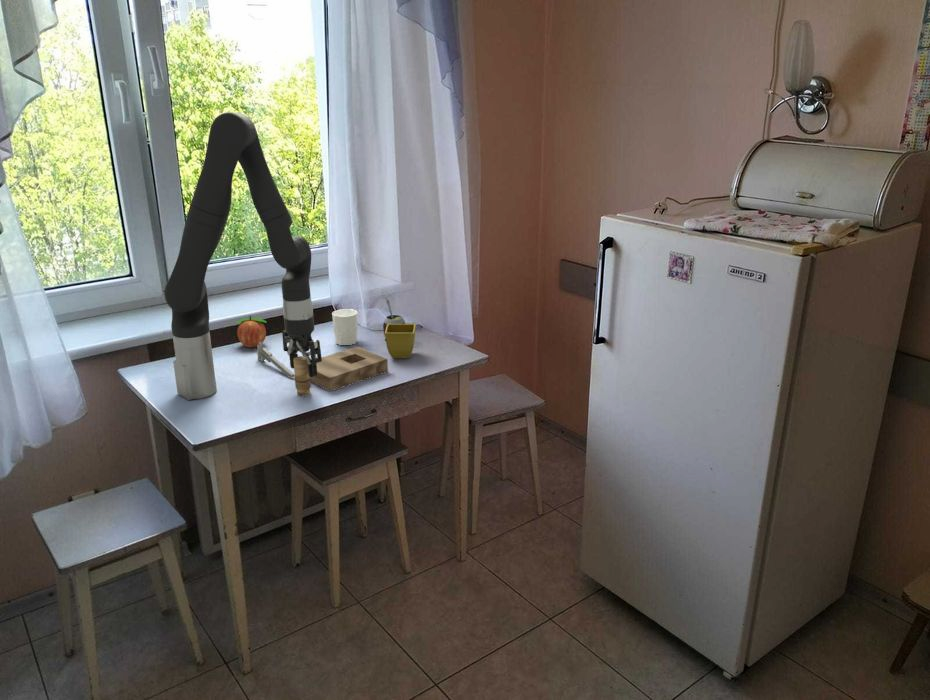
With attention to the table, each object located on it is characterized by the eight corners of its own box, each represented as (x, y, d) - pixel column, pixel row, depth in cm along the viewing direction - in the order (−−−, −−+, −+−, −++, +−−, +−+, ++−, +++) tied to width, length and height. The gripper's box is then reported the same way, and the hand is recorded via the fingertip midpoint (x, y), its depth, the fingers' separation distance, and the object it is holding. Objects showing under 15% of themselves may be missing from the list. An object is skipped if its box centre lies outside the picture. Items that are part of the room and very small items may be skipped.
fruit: (263, 351, 233) (261, 320, 229) (233, 350, 233) (229, 319, 230) (271, 341, 241) (268, 311, 238) (241, 340, 241) (238, 311, 238)
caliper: (257, 360, 226) (255, 341, 224) (261, 360, 227) (259, 340, 224) (293, 381, 212) (292, 360, 210) (297, 379, 213) (295, 359, 211)
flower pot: (388, 350, 234) (387, 323, 231) (416, 350, 234) (415, 323, 231) (385, 361, 226) (384, 332, 223) (414, 361, 226) (414, 333, 223)
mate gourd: (404, 344, 239) (403, 299, 234) (379, 344, 239) (377, 299, 234) (407, 336, 246) (406, 292, 240) (382, 336, 246) (381, 292, 241)
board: (330, 391, 205) (329, 377, 203) (301, 376, 214) (300, 363, 213) (387, 371, 218) (387, 358, 217) (358, 358, 227) (357, 346, 226)
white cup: (334, 338, 244) (332, 309, 240) (359, 338, 245) (357, 308, 241) (333, 347, 236) (331, 317, 233) (358, 346, 237) (357, 316, 234)
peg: (301, 397, 201) (298, 363, 197) (292, 393, 204) (290, 358, 200) (314, 393, 204) (312, 359, 200) (305, 389, 206) (303, 355, 203)
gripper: (270, 311, 198) (277, 368, 204) (301, 323, 189) (307, 383, 195) (295, 305, 203) (300, 361, 209) (326, 316, 194) (331, 375, 200)
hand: (303, 371), depth 202 cm, fingers open, 8 cm apart
